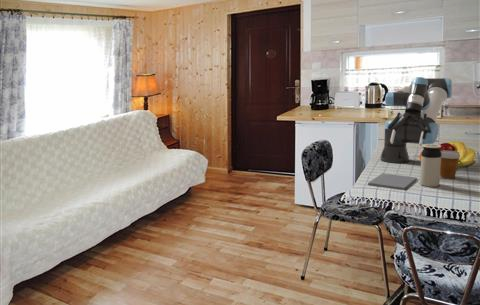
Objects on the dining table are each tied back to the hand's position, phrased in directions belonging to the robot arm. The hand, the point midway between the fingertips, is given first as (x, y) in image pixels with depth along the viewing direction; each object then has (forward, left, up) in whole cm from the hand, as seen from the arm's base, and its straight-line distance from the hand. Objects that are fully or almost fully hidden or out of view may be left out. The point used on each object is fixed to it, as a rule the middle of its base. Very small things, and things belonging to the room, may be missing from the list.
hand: (405, 143), depth 204 cm
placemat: (+17, 0, -15) cm, 23 cm away
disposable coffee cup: (-5, +19, -16) cm, 25 cm away
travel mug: (+13, +15, -16) cm, 25 cm away
